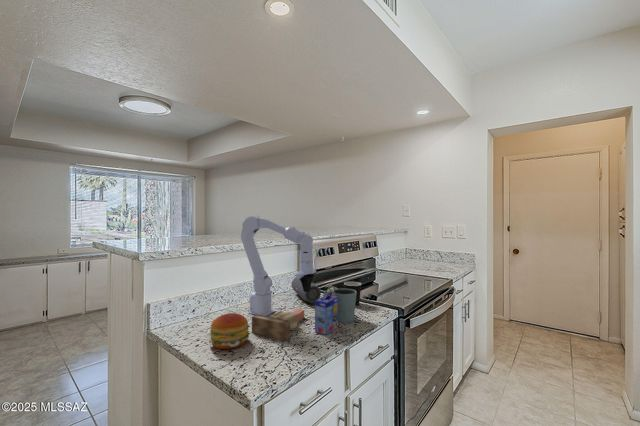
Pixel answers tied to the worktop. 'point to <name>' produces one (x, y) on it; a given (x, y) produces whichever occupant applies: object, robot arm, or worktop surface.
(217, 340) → the burger
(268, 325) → the wall
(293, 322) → the block
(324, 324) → the ink cartridge box
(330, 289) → the food container
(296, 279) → the bluetooth speaker
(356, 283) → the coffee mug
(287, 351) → the worktop surface
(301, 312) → the brick
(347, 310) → the grey green cup
